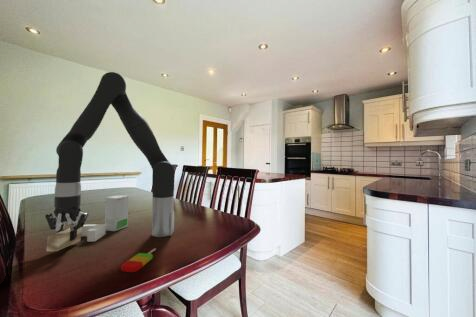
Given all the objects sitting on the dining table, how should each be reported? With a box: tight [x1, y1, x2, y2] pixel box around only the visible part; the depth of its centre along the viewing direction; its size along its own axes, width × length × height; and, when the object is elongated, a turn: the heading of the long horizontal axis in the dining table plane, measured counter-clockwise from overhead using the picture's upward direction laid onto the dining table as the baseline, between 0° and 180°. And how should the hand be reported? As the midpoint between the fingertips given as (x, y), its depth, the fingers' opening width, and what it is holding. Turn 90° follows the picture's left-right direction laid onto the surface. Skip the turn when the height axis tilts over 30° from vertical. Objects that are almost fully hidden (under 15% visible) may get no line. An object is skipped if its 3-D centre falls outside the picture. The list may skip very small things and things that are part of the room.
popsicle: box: [120, 248, 157, 273], centre depth 69 cm, size 6×15×2 cm, turn 170°
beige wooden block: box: [45, 228, 82, 252], centre depth 74 cm, size 4×12×5 cm, turn 7°
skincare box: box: [104, 195, 129, 232], centre depth 99 cm, size 8×7×16 cm
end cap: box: [68, 223, 107, 242], centre depth 86 cm, size 12×8×4 cm, turn 97°
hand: (66, 240), depth 75 cm, fingers closed on beige wooden block, 3 cm apart
